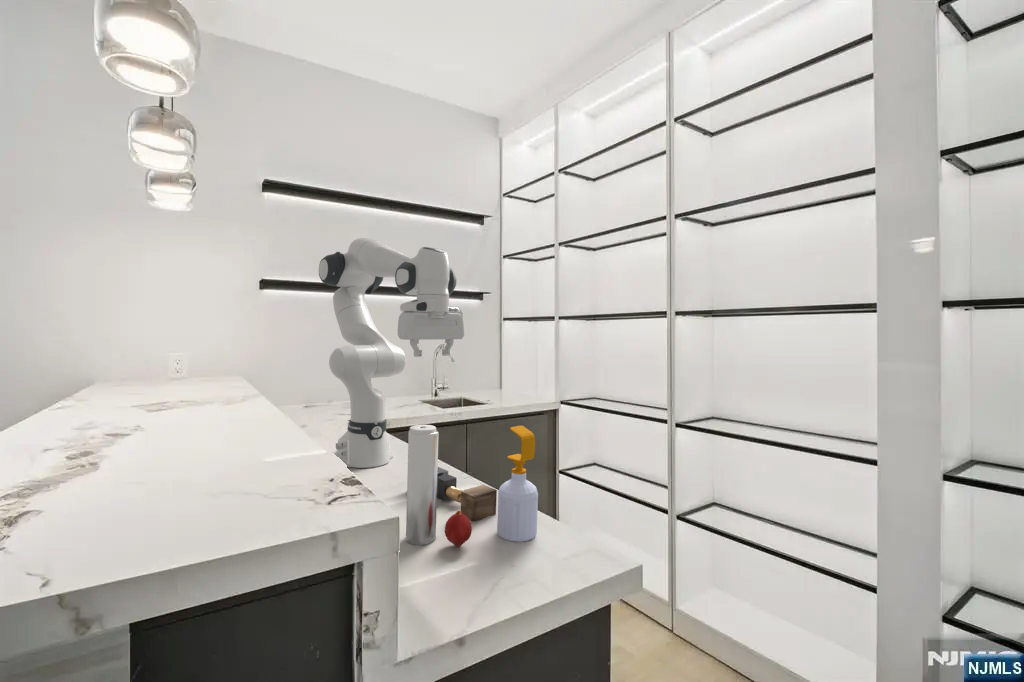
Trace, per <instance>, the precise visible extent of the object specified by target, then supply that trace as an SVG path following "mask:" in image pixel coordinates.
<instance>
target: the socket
mask: <svg viewBox="0 0 1024 682" xmlns="http://www.w3.org/2000/svg"><path fill="white" fill-rule="evenodd" d="M497 493H498V491H497V489H495V488H493V487H491V486H488V485H486V484H481V485H477V486H475V487H471V488H468V489H464V490H462V491H461V503H460V510H461V512H462V514H464V515H465V516H467V517H468V519H469V520H470V522H471V523H475V522H479V521H481V520H484V519H488V518H490V517H493V516H495V515H497V499H498V497H497Z"/></svg>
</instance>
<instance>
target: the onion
mask: <svg viewBox="0 0 1024 682" xmlns="http://www.w3.org/2000/svg"><path fill="white" fill-rule="evenodd" d="M472 526H473V525H472V521H470V520H469V519H468V517H467V516H465V515H464V514H462V512H461V509H458V510H457V511H456V512H455V513H454V514H452V515H451V516H450V517H449V518H447V521H446V522H445V525H444V535H445V537H446V539H447V540H448V542H450V543H451V544H452V545H454V547H456V548H459V547H461V546H462V545H463V544H465V543H467V541H468V540H469V539H470V538H471V535H472V531H473V527H472Z"/></svg>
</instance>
